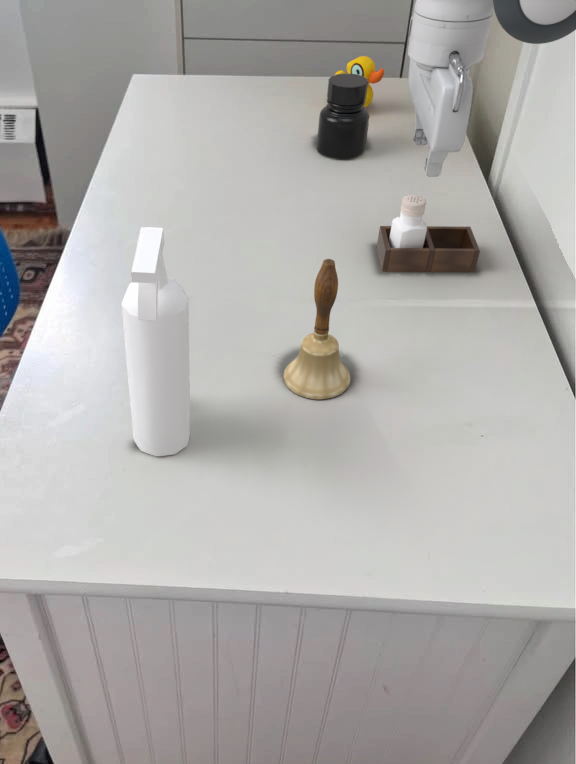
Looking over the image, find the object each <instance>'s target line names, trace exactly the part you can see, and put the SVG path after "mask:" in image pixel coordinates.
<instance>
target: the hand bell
mask: <svg viewBox="0 0 576 764" xmlns="http://www.w3.org/2000/svg"><path fill="white" fill-rule="evenodd" d="M338 290H339V278H338V273H337V269H336V262H335V260H334V259H332V258H326V259H323V261H322V264H321V266H320V268H319V270H318V273H317V275H316V277H315V281H314V289H313V296H314V298H313V299H314V302H315V303H314V304H315V308H316V315H315V323H314V326H313V327H314V329H313V330H314V331H313V332H312V333H309V334H307V335H306V336H304V338H303V339H302V340H301V343H300V348H299V351H298V354H297V356H296V358H295V359H293V360H292V361H291V362H289V363H288V364H287V366H286V367H285V369H284V370H283V375H282V378H283V382H284V385H285V386H286V387H287V388H288V389H289V390H290V391H291V392H293V394H295V395H298V396H300V397H302V398H306V399H310V400H327V399H332V398H335V397H337V396H340V395H342V394H343V393H344V392H346V391H347V389H348V388H349V387H350V384H351V372H350V371H349V369H348V367H347V366H346V365H345V364H344V363H343V362H341V358H340V345H339V344H340V343H339V341H338V339H337V338H336V337H335V336H333V335H332V334H330V333H329V331H330V317H331V312H332V309H333V306H334V304H335V302H336V300H337V296H338V295H337V294H338Z"/></svg>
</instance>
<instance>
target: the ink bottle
mask: <svg viewBox="0 0 576 764" xmlns="http://www.w3.org/2000/svg"><path fill="white" fill-rule="evenodd" d="M335 74H336V73H335ZM335 74H334V75H331V76H330V77H329V78H328V83H327V92H326V105H325V106H324V107H322V109H321V110H320V112H319V116H318V127H317V137H316V138H317V139H316V150H317V152H318V153H319V154H321V155H322V156H325V157H327V158H330V157H331V158H330V159H335V158H336V159H337V160H350V159H354V158H358V157H359V156H361V155H362V154H364V151H365V150H366V145H367V140H368V132H369V125H370V123H369V122H370V112H369V110H368V109H367V107H366V108H365V107H364V104H365V100H366V94H367V87H368V79H366V78H365V77H364V76H361V75H358V74H351V73H350V74H347V73H346V74H344V73H343V74H336V75H335Z"/></svg>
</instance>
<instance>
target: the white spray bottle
mask: <svg viewBox="0 0 576 764" xmlns="http://www.w3.org/2000/svg"><path fill="white" fill-rule="evenodd" d="M164 236H165V235H164V227H149V226H140V228H139V233H138V238H137V243H136V248H135V253H134V257H133V262H132V267H131V271H130V274H131V275H130V276H131V282H130V283H129V284H128V286H127V288H126V291H125V294H124V297H123V298H122V301H121V315H122V328H123V336H124V337H123V338H124V348H125V349H124V350H125V359H126V371H127V382H128V393H129V405H130V415H131V427H132V437H133V441H134V444H135V445H136V446H137V447H138V449H139V450H140V451H141V452H142V453H146V454H147V455H151V456H153V457H165V456H173V455H176V454H178V453H179V452H181V451H182V450H183V449H185V448H186V447H188V446H189V440H190V437H191V390H190V388H191V385H190V384H191V383H190V382H191V381H190V380H191V379H190V314H189V313H190V309H189V307H190V306H189V304H190V303H189V302H190V301H189V296H188V294H187V293H186V291H185V289H184V287H183V286H182V285H181V284H180V283H179V282H178V281H177V280H176V279H175V278H171V277H168V275H167V270H166V265H165V260H164V256H163V251H164V246H165V237H164Z"/></svg>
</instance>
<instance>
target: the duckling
mask: <svg viewBox="0 0 576 764" xmlns="http://www.w3.org/2000/svg"><path fill="white" fill-rule="evenodd" d="M346 72H347V73H346ZM346 72H345V70H338V71H336V72H335V73H334V75H336V74H343V73H344V74H350V73H351V74H358V75H361V76H364V77H365V78H366V79H368V87H367V94H366V100H365V104H364V107H365V108H366V109H367V107H368V106H370V105H371V104H372V102H373V99H374V90H373V87H372V85H371V84H377V83H379V82H381V80H382V79H383V78H384V75H385V69H384V68H383V67H381V68H380V69H379V70H378V71H376V64H375V62H374V60H373V59H372V58H371V57H369V56H366V55H360V56H358V57H356V58H354V59H353V60H350V61H349V62H348V63H347V65H346Z"/></svg>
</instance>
